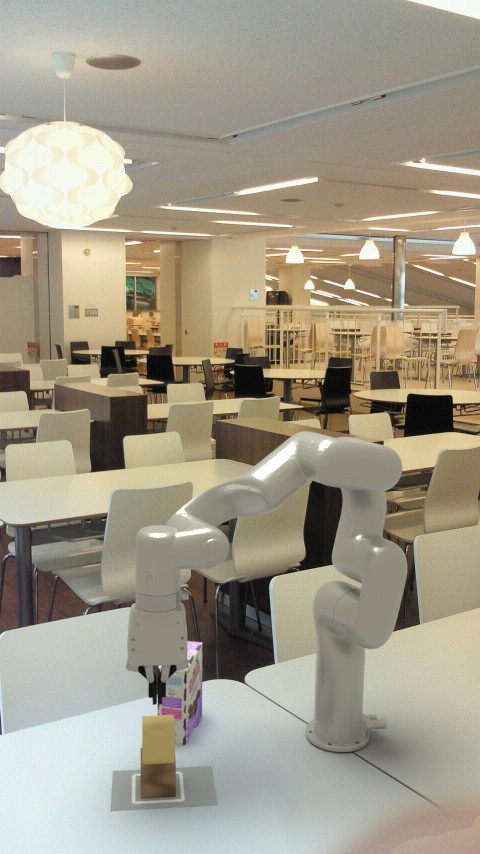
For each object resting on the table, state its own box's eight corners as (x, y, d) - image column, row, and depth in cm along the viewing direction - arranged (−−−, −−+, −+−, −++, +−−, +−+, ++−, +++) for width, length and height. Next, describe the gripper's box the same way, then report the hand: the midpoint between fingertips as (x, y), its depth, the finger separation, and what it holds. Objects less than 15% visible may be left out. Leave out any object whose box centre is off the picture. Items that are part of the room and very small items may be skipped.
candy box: (185, 750, 162) (186, 669, 159) (156, 746, 163) (156, 666, 161) (203, 715, 175) (203, 640, 173) (175, 712, 176) (176, 638, 174)
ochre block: (173, 746, 150) (173, 714, 149) (174, 763, 145) (174, 730, 144) (142, 747, 150) (142, 716, 149) (142, 764, 144) (142, 732, 143)
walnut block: (174, 777, 151) (174, 746, 150) (175, 796, 145) (175, 764, 144) (140, 778, 150) (140, 747, 150) (140, 798, 145) (140, 766, 144)
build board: (211, 770, 155) (211, 765, 155) (217, 810, 143) (217, 804, 143) (112, 776, 153) (112, 770, 153) (110, 816, 141) (110, 810, 141)
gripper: (200, 590, 147) (198, 689, 150) (113, 592, 145) (113, 692, 148) (203, 606, 140) (202, 710, 142) (112, 608, 138) (112, 713, 141)
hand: (157, 700), depth 145 cm, fingers closed
